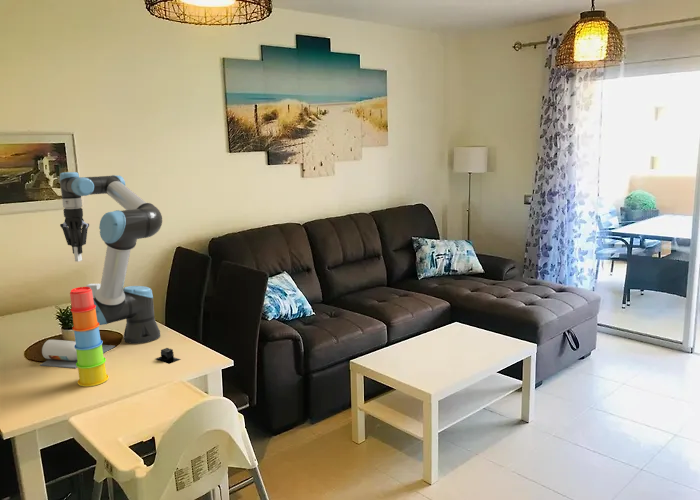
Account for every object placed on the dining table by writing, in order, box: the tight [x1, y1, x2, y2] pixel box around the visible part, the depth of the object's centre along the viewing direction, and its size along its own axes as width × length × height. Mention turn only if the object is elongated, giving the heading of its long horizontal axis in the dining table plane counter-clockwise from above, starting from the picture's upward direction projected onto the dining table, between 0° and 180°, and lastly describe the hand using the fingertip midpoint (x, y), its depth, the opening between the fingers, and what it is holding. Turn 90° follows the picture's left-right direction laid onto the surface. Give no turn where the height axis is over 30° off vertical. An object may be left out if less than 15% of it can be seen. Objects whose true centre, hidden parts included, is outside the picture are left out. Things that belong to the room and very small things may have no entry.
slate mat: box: [39, 344, 116, 369], centre depth 228 cm, size 16×24×1 cm, turn 166°
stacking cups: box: [69, 286, 110, 388], centre depth 199 cm, size 10×10×35 cm
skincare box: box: [85, 283, 101, 298], centre depth 300 cm, size 6×4×12 cm
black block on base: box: [154, 347, 182, 365], centre depth 221 cm, size 12×7×5 cm, turn 54°
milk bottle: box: [41, 339, 77, 361], centre depth 222 cm, size 8×8×20 cm
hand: (78, 260), depth 249 cm, fingers closed
